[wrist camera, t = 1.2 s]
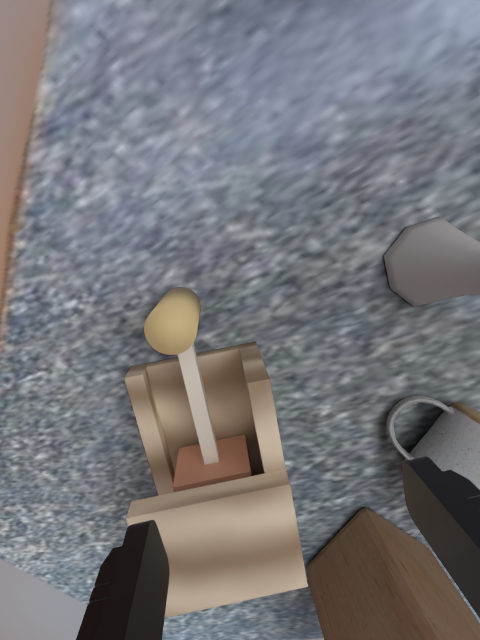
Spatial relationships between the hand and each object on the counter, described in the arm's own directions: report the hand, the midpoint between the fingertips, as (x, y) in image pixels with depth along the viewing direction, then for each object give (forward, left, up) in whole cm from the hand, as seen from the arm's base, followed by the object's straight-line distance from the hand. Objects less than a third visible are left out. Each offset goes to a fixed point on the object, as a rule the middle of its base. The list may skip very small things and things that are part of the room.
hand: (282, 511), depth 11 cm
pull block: (+5, -4, -19) cm, 20 cm away
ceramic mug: (+14, +17, -20) cm, 29 cm away
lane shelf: (+9, -4, -20) cm, 22 cm away
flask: (-3, +17, -20) cm, 26 cm away
